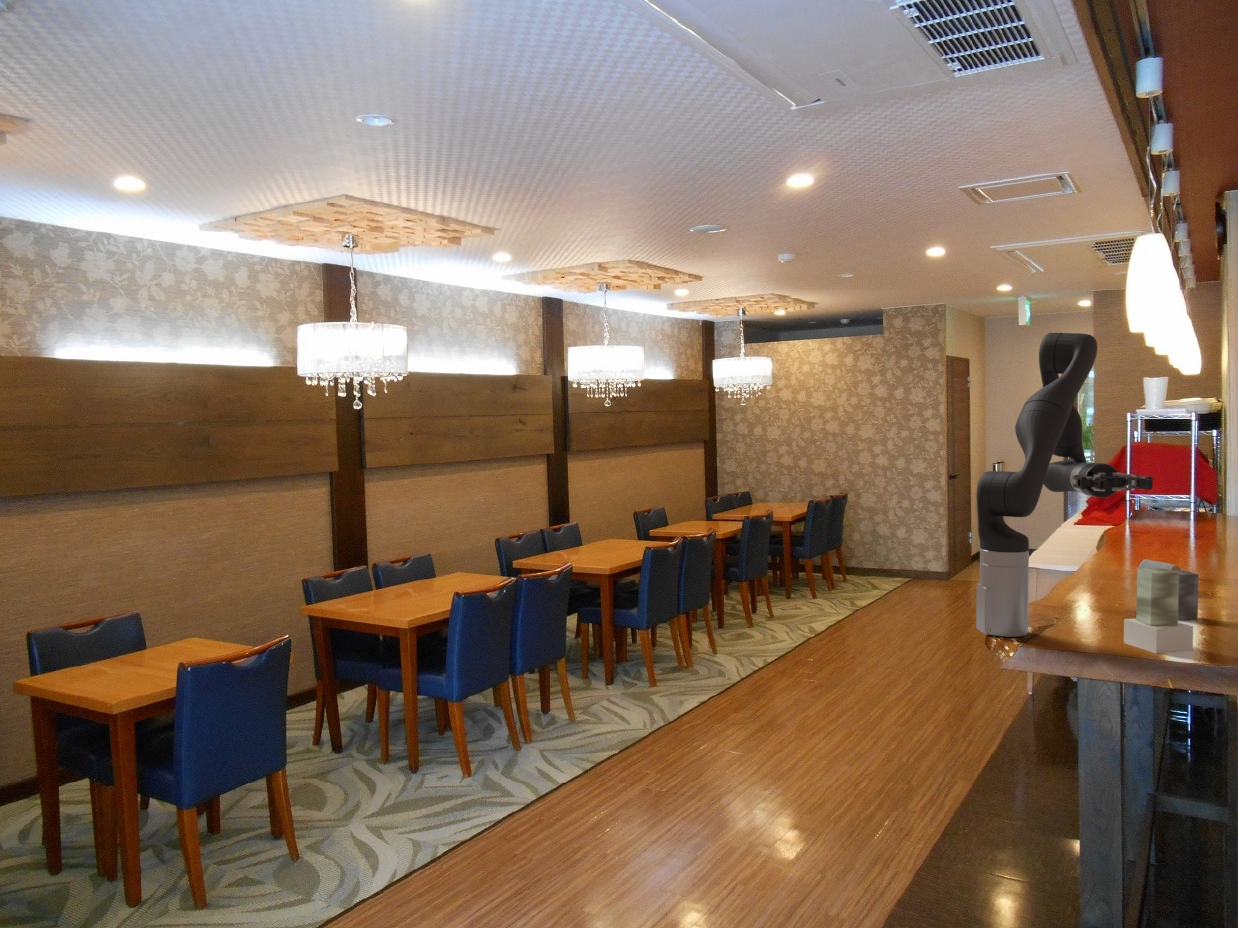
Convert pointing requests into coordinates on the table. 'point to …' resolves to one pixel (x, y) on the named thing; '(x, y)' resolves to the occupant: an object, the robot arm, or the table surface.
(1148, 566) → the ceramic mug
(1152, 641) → the cream base block
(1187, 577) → the slate pillar
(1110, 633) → the table surface
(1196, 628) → the table surface
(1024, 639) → the table surface
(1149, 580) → the sage pillar
